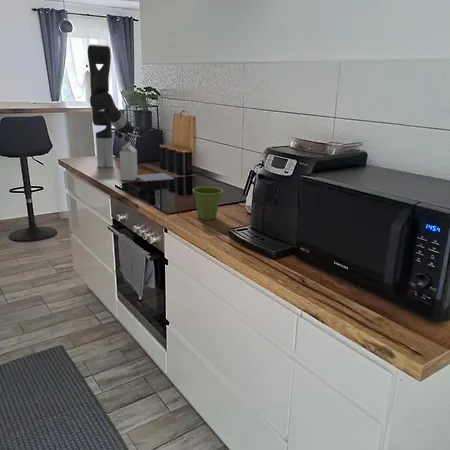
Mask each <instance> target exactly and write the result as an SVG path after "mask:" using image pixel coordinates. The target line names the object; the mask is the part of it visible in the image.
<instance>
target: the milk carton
mask: <svg viewBox="0 0 450 450" xmlns="http://www.w3.org/2000/svg"><path fill="white" fill-rule="evenodd" d="M119 165H120V166H119V167H120V169H119V170H120V172H119V173H120V180H121V181H131V182H132V181H133V182H135V180H137V179H138V175H139V174H138V149H136V148H135V147H134V146H133V145H131V142H126V144H125V145H123V146H122V147H121V150H120V151H119Z"/></svg>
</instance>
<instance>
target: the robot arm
mask: <svg viewBox="0 0 450 450" xmlns="http://www.w3.org/2000/svg"><path fill="white" fill-rule="evenodd" d="M111 55H112V54H111V48H110V46H109V45H107V44H106V45H105V44H95V43H92V44H91V43H90V44H88V47H87V60H88V68H89V76H90V77H89V78H90V79H89V81H90V97H89V104H90V107H91V121H92V124H93V125H94V126H98V127H100V126H101V127H102V126H103V127H104V126H105V128H104V129H102V130H99V131H97V132H96V133H95V145H96V146H95V147H96V163H97V164H96V165H97V168H101V169H102V168H104V169H106V168H107V169H108V168H113V167H114V152H113V149H114V147H113V134H115V136H116V137H117V138H118V139H123V140H124V141H125V142H126V143H130V137H129V136H133V137H137V138H138V139H139V140H141V141H144V130H143V129H142V128H141V127H140V126H139V125H136V126H133V125H132V124H131V122H130V121H129V120H128V118H127V117H126V116H125V115H124V114H123V113H122V112H121V111H120V110H119V109H118V108H117V106H116V104H115V102H114V98H113V97H112V95H111V94H110V92H109V91H110V88H109V87H110V84H109V83H110V81H109V76H110V69H111V59H112V58H111ZM97 65H102V66H101V67H100V69H98V66H97ZM112 127H113V128H114V133H112V131H113V129H112Z"/></svg>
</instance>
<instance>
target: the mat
mask: <svg viewBox="0 0 450 450" xmlns="http://www.w3.org/2000/svg"><path fill="white" fill-rule="evenodd" d="M137 179H139V180H141V182H143V183H149V182H148V181H150V182H159V181H161V182H162V181H172V180H174V181H175V178H174V177H172V176H171V175H169V174H166V173H165V172H159V173H148V174H138V178H137Z"/></svg>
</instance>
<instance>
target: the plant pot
mask: <svg viewBox="0 0 450 450" xmlns="http://www.w3.org/2000/svg"><path fill="white" fill-rule="evenodd" d="M192 192H193V194H194V198H195V205H196V214H197V218H198V219H200V220H203V221H211V220H215V219H217V214H218V209H219V206H220V205H219V204H220V201H221V196H222V193H223V192H224V190H223V189H222V188H220V187H215V186H214V187H213V186H198V187H194V188H192Z"/></svg>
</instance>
